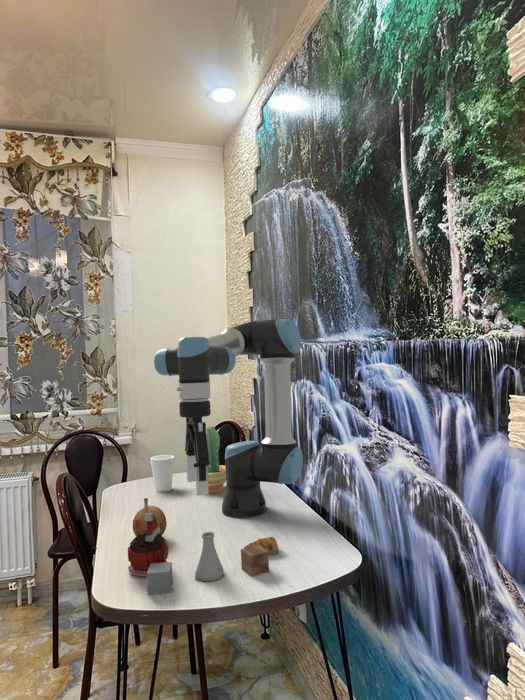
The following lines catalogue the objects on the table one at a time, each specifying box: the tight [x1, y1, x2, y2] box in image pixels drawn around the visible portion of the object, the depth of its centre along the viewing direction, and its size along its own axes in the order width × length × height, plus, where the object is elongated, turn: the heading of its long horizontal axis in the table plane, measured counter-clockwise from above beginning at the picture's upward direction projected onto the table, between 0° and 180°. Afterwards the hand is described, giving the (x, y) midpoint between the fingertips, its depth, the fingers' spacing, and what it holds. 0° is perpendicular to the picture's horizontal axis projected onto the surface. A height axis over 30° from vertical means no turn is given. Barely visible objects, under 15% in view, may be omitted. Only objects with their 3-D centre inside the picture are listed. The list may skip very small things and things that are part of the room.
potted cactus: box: [206, 425, 226, 494], centre depth 192 cm, size 15×15×25 cm
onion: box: [132, 505, 168, 537], centre depth 140 cm, size 10×10×10 cm
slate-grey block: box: [146, 561, 174, 596], centre depth 110 cm, size 5×5×5 cm
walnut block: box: [240, 545, 270, 578], centre depth 117 cm, size 5×5×5 cm
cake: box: [127, 497, 169, 577], centre depth 120 cm, size 11×9×18 cm
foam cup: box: [150, 454, 175, 493], centre depth 194 cm, size 10×9×13 cm
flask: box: [194, 531, 225, 582], centre depth 116 cm, size 7×7×10 cm
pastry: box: [243, 536, 280, 557], centre depth 128 cm, size 9×7×4 cm
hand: (197, 487), depth 116 cm, fingers open, 13 cm apart
